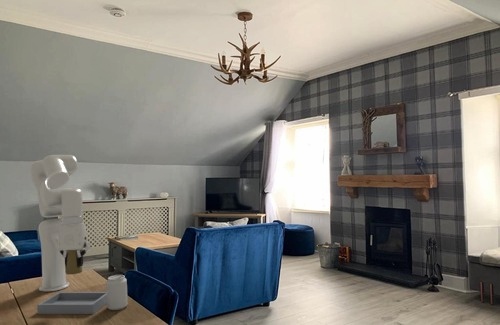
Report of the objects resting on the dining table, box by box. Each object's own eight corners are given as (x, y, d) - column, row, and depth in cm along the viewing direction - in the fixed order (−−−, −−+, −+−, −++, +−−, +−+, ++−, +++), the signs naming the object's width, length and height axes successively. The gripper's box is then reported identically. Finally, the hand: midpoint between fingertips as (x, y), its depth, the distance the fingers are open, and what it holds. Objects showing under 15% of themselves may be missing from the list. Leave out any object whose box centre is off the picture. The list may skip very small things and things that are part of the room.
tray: (37, 313, 144) (37, 304, 144) (59, 300, 158) (59, 292, 158) (93, 313, 142) (92, 304, 142) (110, 300, 156) (110, 291, 156)
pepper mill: (65, 275, 146) (64, 246, 146) (65, 271, 151) (64, 244, 151) (83, 272, 148) (82, 244, 149) (81, 269, 154) (81, 242, 154)
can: (121, 311, 143) (120, 279, 143) (103, 310, 145) (102, 279, 145) (131, 304, 151) (130, 274, 151) (114, 303, 152) (113, 273, 152)
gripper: (46, 222, 147) (48, 269, 147) (87, 221, 146) (89, 269, 145) (58, 219, 155) (59, 264, 154) (97, 218, 153) (99, 264, 153)
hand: (74, 266), depth 150 cm, fingers closed on pepper mill, 4 cm apart
